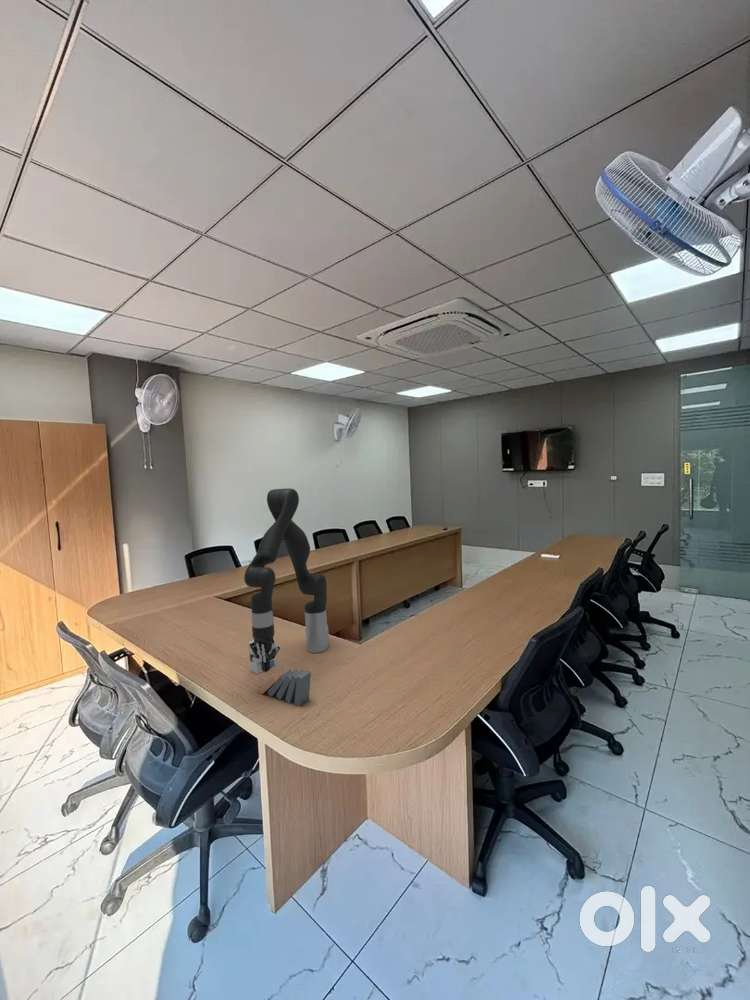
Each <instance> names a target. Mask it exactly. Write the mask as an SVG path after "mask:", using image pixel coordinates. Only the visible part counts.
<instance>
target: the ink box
mask: <svg viewBox="0 0 750 1000" xmlns="http://www.w3.org/2000/svg"><path fill="white" fill-rule="evenodd" d="M253 642H254V640H251V641H249V642H248V653H249V654H248V655H249V657H248V658H249V667H250V669H249V670H250V672H251V673H253V674H255V675H259V674H261V673H262V672H264V671H262V667H261V661H260V659H259V658H258V659H257V658H256V656H255V655H254V653H253V651H252V649H251V647H250V644H251V643H253ZM257 653H258V651H257ZM272 667H275V658H274V659H272V660H270V669H271V668H272Z"/></svg>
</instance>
